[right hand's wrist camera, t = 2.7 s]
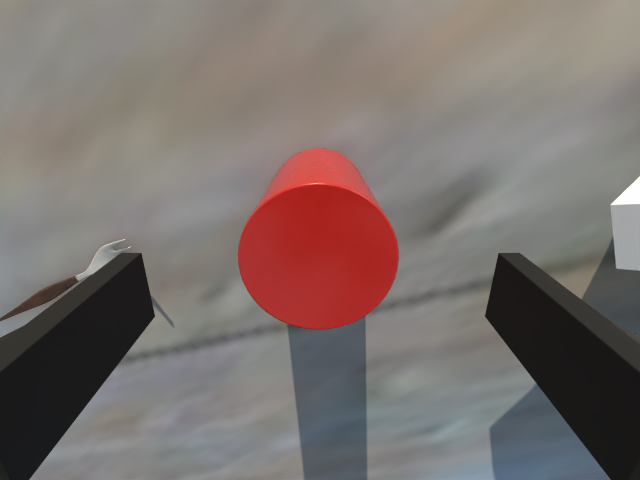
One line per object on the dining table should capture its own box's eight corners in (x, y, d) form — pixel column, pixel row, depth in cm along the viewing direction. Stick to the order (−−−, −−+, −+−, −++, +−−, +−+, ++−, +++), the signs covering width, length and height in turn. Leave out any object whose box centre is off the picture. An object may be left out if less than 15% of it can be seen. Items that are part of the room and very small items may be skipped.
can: (264, 156, 26) (219, 196, 14) (358, 141, 26) (392, 170, 14) (282, 243, 28) (257, 338, 17) (368, 231, 28) (404, 319, 16)
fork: (-8, 306, 30) (-30, 319, 29) (135, 228, 28) (122, 236, 26) (14, 328, 31) (-6, 342, 29) (155, 254, 29) (143, 264, 27)
